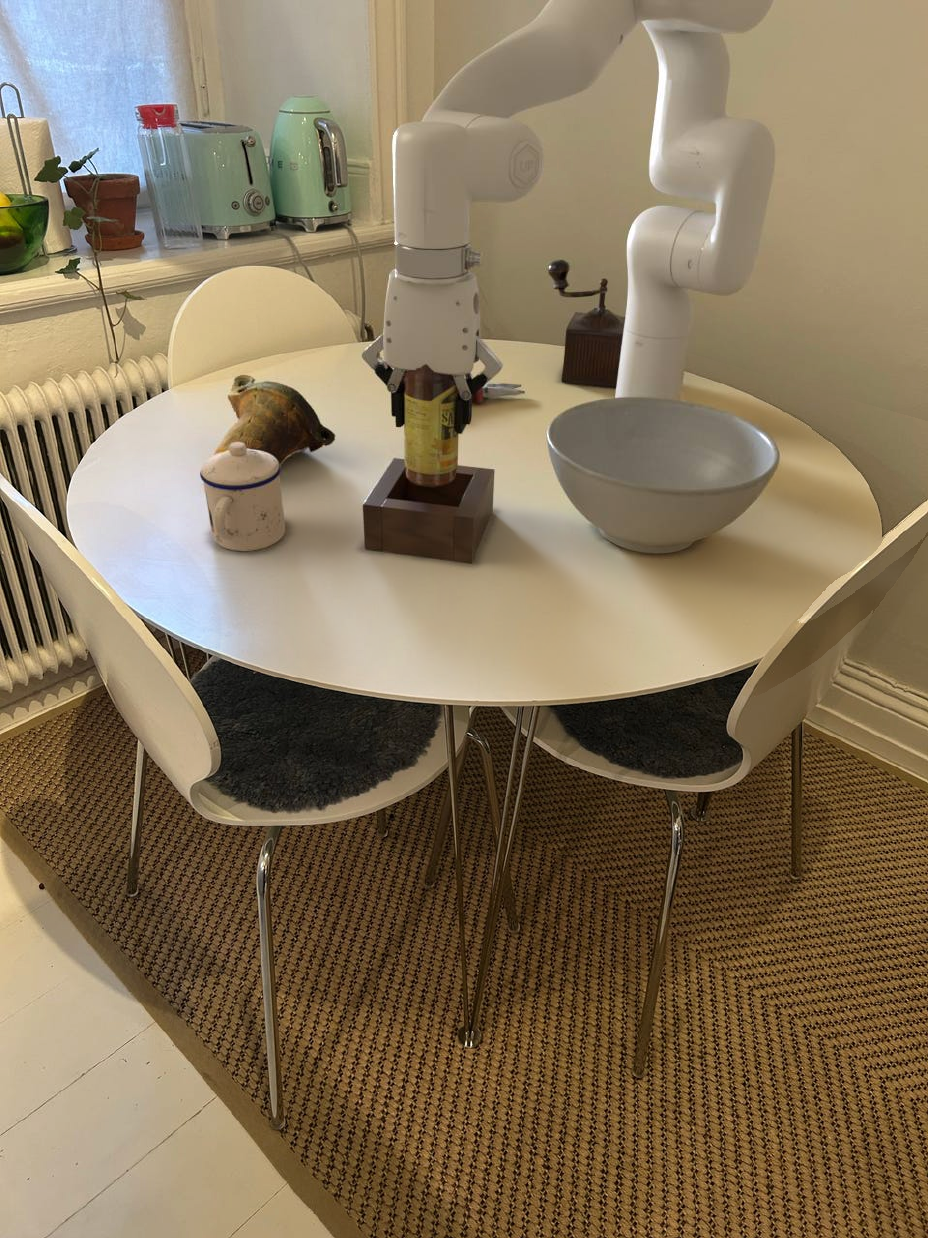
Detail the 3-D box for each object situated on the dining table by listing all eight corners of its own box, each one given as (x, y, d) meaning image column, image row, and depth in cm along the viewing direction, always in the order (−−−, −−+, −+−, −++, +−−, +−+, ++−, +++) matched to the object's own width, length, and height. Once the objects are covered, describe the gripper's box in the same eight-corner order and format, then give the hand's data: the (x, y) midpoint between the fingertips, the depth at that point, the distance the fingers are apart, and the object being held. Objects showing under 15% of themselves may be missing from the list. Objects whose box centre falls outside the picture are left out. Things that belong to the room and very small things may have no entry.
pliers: (530, 408, 141) (531, 393, 139) (406, 414, 137) (406, 398, 136) (514, 383, 150) (515, 368, 148) (398, 389, 147) (397, 373, 145)
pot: (160, 420, 111) (239, 339, 120) (169, 476, 120) (242, 397, 130) (277, 482, 109) (349, 395, 119) (277, 533, 119) (343, 449, 128)
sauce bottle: (451, 492, 100) (454, 317, 89) (398, 486, 101) (395, 312, 90) (462, 468, 106) (467, 300, 94) (412, 463, 107) (411, 295, 95)
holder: (492, 512, 112) (494, 469, 108) (471, 563, 101) (473, 518, 98) (394, 500, 114) (393, 457, 110) (364, 549, 103) (362, 504, 100)
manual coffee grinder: (627, 368, 158) (641, 263, 147) (620, 389, 149) (634, 279, 138) (542, 359, 161) (550, 255, 150) (530, 379, 152) (538, 270, 141)
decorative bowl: (772, 506, 115) (794, 419, 108) (736, 610, 95) (760, 511, 88) (577, 466, 124) (586, 383, 117) (507, 553, 103) (513, 459, 96)
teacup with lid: (229, 512, 110) (216, 425, 103) (298, 520, 109) (289, 432, 102) (187, 561, 100) (169, 468, 94) (262, 570, 99) (249, 477, 92)
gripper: (520, 258, 91) (511, 421, 102) (362, 246, 94) (368, 406, 104) (508, 276, 85) (500, 447, 95) (339, 262, 88) (348, 430, 98)
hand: (431, 424), depth 100 cm, fingers closed on sauce bottle, 6 cm apart
